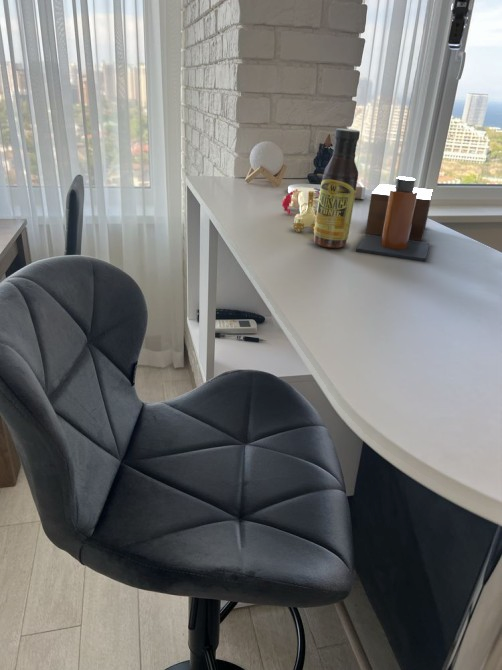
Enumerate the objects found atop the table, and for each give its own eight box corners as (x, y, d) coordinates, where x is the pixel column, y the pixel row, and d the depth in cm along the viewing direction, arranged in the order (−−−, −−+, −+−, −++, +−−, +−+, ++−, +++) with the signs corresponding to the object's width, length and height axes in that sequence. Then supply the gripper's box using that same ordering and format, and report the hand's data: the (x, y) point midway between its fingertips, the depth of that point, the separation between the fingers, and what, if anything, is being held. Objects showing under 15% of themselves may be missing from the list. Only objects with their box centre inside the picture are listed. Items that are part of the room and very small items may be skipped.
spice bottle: (408, 244, 94) (421, 178, 89) (406, 250, 90) (419, 181, 85) (382, 240, 96) (393, 175, 90) (378, 246, 92) (390, 178, 86)
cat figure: (331, 239, 101) (322, 203, 122) (337, 196, 96) (326, 166, 118) (281, 236, 101) (281, 200, 122) (285, 193, 96) (284, 163, 118)
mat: (428, 245, 96) (429, 243, 96) (425, 261, 87) (425, 258, 87) (365, 236, 100) (366, 234, 100) (356, 251, 90) (356, 248, 90)
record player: (366, 188, 131) (289, 184, 131) (364, 200, 132) (288, 196, 133) (359, 180, 141) (288, 177, 142) (358, 192, 143) (287, 188, 143)
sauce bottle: (307, 245, 92) (320, 128, 83) (319, 238, 97) (332, 126, 88) (342, 252, 89) (358, 131, 81) (352, 244, 94) (369, 130, 86)
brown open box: (425, 227, 109) (432, 189, 105) (421, 241, 99) (430, 199, 95) (373, 221, 112) (379, 184, 109) (365, 233, 102) (371, 193, 98)
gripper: (501, -71, 82) (476, 44, 89) (495, -50, 94) (474, 50, 101) (452, -70, 84) (431, 43, 91) (453, -49, 96) (435, 49, 103)
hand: (454, 47), depth 96 cm, fingers open, 8 cm apart
